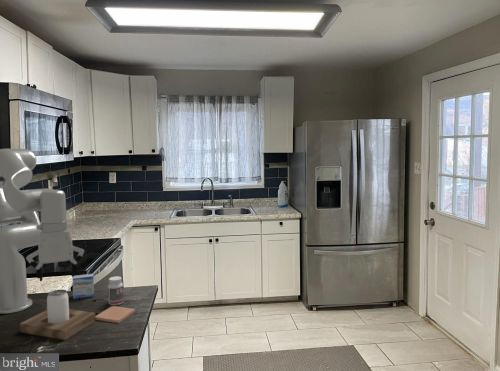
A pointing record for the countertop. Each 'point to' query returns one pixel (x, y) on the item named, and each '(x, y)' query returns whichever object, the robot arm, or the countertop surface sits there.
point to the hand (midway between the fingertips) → (57, 277)
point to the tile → (115, 314)
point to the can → (57, 306)
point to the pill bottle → (115, 291)
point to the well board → (62, 331)
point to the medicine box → (83, 286)
